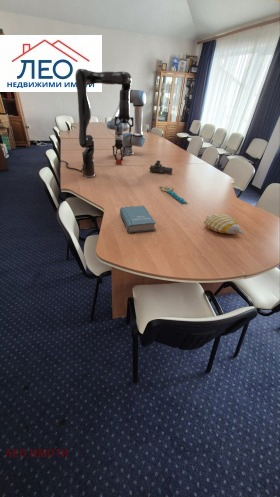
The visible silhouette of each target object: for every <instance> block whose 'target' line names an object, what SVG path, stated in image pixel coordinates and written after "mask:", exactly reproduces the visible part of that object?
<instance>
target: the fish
mask: <svg viewBox="0 0 280 497" xmlns="http://www.w3.org/2000/svg"><path fill="white" fill-rule="evenodd" d="M203 223H204V225H205V226H206V227H207V228H208V229H210V230H212V231H214V232H217V233H222V234H227V235H237V234H239V235H244V234H245V233H244V232H243V231H242V229H241V227H240V225H239V224H238V222H237V219H236V218H235V217H232V216H230V215H229V214H228V213H216V214H210V215H207V216H206V218H205V219H204V220H203Z"/></svg>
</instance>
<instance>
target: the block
mask: <svg viewBox="0 0 280 497" xmlns="http://www.w3.org/2000/svg"><path fill="white" fill-rule="evenodd" d="M116 165H122V160H121V157H120V158H119V157H117V164H116Z"/></svg>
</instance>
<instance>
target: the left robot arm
mask: <svg viewBox="0 0 280 497" xmlns="http://www.w3.org/2000/svg"><path fill="white" fill-rule="evenodd" d="M74 75H75V76H74V77H75V83H76V84H75V85H76V93H77V94H76V95H77V109H78V110H77V111H78V142H79V143H78V144H79V145H80V147H81V148H82V149H84V150H83V151H82V153H81V155H82V168H81V169H78V168H75V167H69V166H68V165H69V162H67V161H65V160H62V159H61V160H59V163H61V162H63V163H65V166H66V169H69V170H76V171H78V172H80V173H81V172H82V174H83V176H84V177H85V178H94V177H95V175H96V174H95V173H96V172H95V159H94V153H95V139H94V137H93V136H92V135H91V134H87V130H88V126H89V124H90V121H91V117H92V108H91V104H90V100H89V98H88V93H87V86H90V85H95V84H102V85H111V86H112V85H118V86H119V85H120V86H121V89H120V90H119V102H118V105H119V117H118V116H115V126H117V131H118V132H119V125H120V123H125V124H126V123H128V125H129V129H128V133H132V127H133V128H134V117H133V116H130V108H131V105H130V104H131V103H130V101H129V99H130V90H131V88H132V75H131V74H130V72H128V71H93V70H92V71H91V70H88V69H86V68H78V69H77V70H76V71H75V74H74ZM118 118H119V120H120V121H119V123H118V124H116V120H117V119H118ZM130 121H131V123H130Z"/></svg>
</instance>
